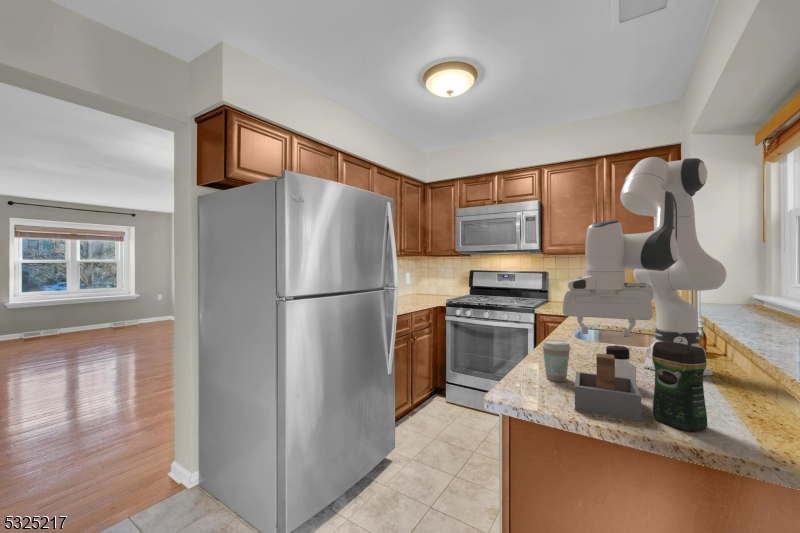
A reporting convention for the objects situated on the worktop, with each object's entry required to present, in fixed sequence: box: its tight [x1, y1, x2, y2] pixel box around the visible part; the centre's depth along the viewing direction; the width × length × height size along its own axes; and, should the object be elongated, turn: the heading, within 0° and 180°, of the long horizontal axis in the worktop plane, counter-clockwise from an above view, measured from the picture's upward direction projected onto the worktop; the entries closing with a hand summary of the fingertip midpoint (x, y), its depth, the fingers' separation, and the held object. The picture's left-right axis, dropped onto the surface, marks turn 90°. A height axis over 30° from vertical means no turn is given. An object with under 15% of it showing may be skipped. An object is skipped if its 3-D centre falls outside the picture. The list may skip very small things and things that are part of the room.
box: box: [574, 371, 642, 422], centre depth 91 cm, size 14×14×6 cm
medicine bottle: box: [605, 344, 637, 383], centre depth 105 cm, size 7×7×12 cm
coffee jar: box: [652, 341, 708, 432], centre depth 80 cm, size 10×8×19 cm
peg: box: [595, 352, 615, 391], centre depth 91 cm, size 4×4×13 cm
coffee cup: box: [541, 339, 572, 383], centre depth 112 cm, size 8×8×12 cm
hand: (605, 335), depth 91 cm, fingers open, 8 cm apart
